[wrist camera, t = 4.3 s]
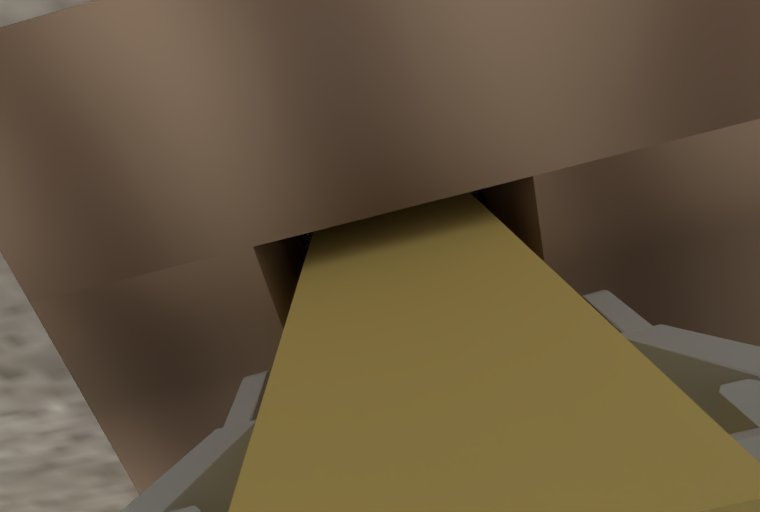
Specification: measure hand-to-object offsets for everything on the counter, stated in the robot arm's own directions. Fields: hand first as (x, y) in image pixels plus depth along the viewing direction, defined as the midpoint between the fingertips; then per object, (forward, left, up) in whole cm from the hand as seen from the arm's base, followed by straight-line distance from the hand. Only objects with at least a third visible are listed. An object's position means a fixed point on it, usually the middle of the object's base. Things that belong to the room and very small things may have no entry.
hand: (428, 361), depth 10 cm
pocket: (0, 0, -6) cm, 6 cm away
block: (0, 0, -6) cm, 6 cm away
